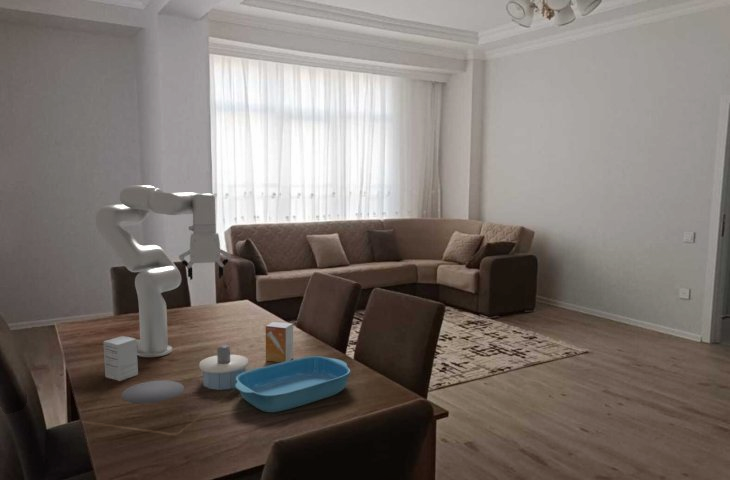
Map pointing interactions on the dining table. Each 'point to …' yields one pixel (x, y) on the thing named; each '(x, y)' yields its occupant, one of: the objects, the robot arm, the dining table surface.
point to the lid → (223, 361)
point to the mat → (152, 391)
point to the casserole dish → (293, 383)
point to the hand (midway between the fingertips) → (205, 278)
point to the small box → (279, 342)
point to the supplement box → (120, 358)
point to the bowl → (221, 380)
